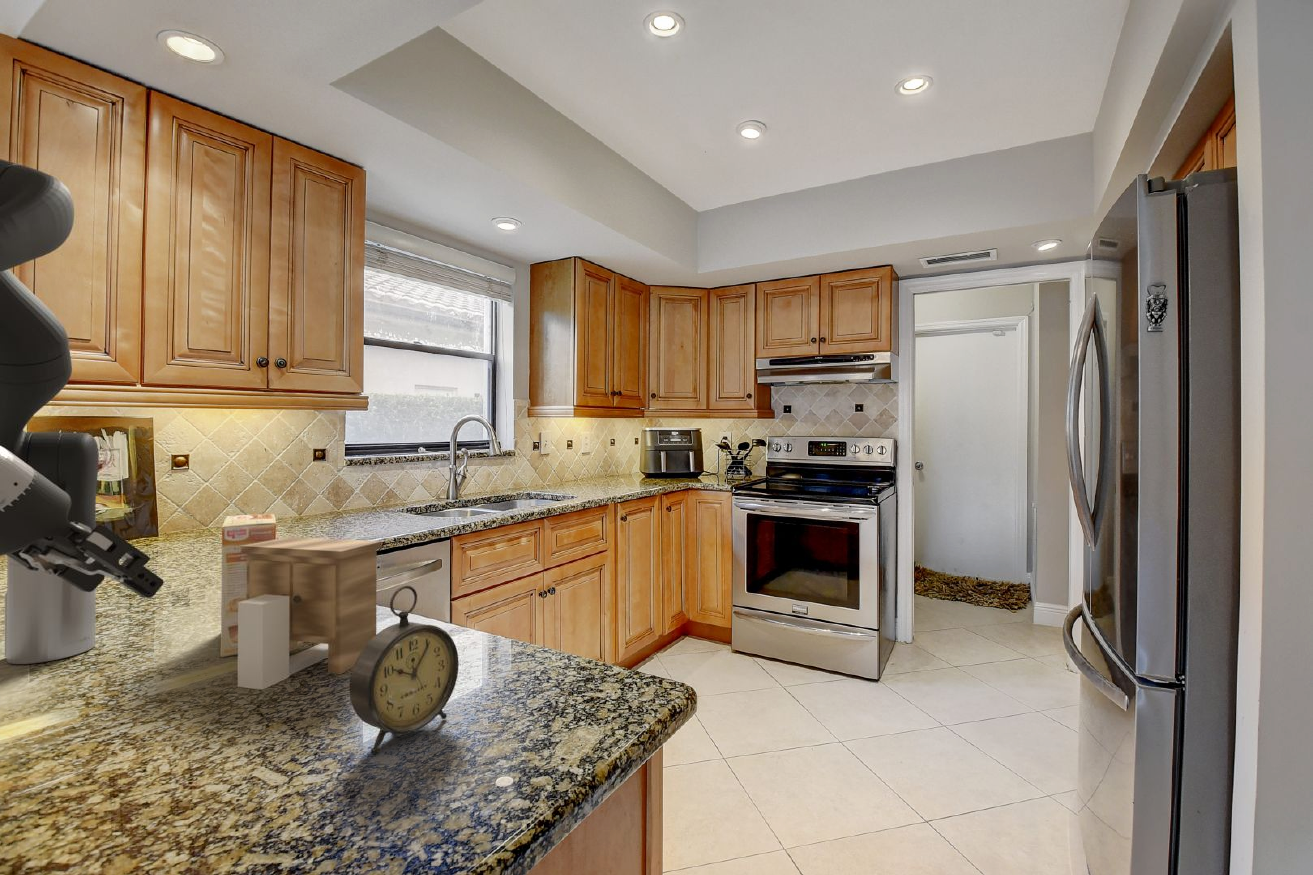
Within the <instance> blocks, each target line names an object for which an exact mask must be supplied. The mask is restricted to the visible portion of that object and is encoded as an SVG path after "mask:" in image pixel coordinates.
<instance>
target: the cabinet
mask: <svg viewBox="0 0 1313 875" xmlns="http://www.w3.org/2000/svg"><path fill="white" fill-rule="evenodd" d="M382 542H383V541H382V540H381V541H379V540H365V539H364V540H363V539H362V540H361V539H340V538H323V537H322V538H321V537H320V538H319V537H318V538H317V537H303V536H302V537H301V536H300V537H299V536H286V537H285V536H284V537H280V538H276V539H275V540H269V541H264V542H259V543H254V544H248V545H243V546H241V553H247V600H248V599H251V598H255V597H258V596H261V595H265V594H268V595H281V596H289V651H290V652H292V651H295V650H296V649H300V645H299V644H300V643H299V642H301V643H302V642H303V643H304V642H305V643H313V644H321V643H322V644H328V658H327V673H328V674H333V675H342V674H344V673H346V672H348V671H350V670H353V667H354V664H355V662H356V660H357V658H358V656H359V654H360V653H361V651H362V650H363V648H364V647H365V646H366V644H367V643H368V642H369V641H370V640H371V639H372V638H373V637H374V636H375V635H377V586H378V585H377V571H378V568H377V564H378V562H377V558H378V555H377V550H379V549H382V548H383V543H382Z"/></svg>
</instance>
